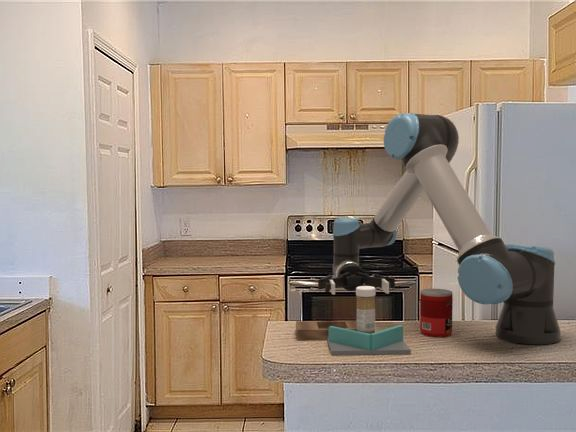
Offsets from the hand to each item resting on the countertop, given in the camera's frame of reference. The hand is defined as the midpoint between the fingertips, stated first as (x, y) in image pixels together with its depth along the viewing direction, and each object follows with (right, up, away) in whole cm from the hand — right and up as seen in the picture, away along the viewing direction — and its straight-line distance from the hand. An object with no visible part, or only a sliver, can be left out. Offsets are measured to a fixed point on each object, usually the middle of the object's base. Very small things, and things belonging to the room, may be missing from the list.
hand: (360, 288), depth 166 cm
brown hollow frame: (-7, -12, +2) cm, 14 cm away
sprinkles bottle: (0, -12, -10) cm, 16 cm away
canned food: (+20, -12, +3) cm, 23 cm away
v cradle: (+1, -13, -10) cm, 16 cm away
